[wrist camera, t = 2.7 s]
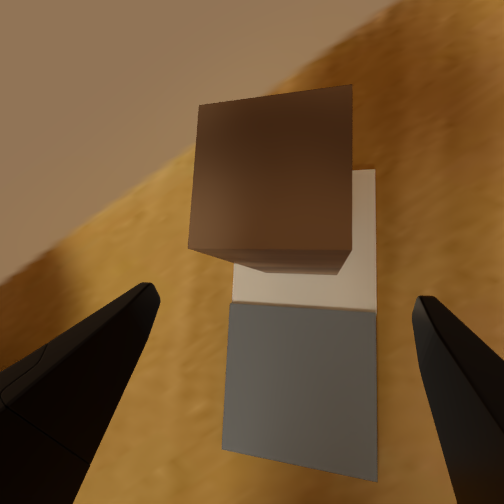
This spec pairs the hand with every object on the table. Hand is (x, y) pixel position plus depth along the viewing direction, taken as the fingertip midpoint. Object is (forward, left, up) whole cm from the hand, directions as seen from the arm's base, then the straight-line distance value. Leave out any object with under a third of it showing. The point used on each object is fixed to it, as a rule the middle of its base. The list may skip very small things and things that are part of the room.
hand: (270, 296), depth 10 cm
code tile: (+3, -2, -11) cm, 12 cm away
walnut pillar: (+3, -2, -10) cm, 11 cm away
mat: (-5, +3, -11) cm, 12 cm away
